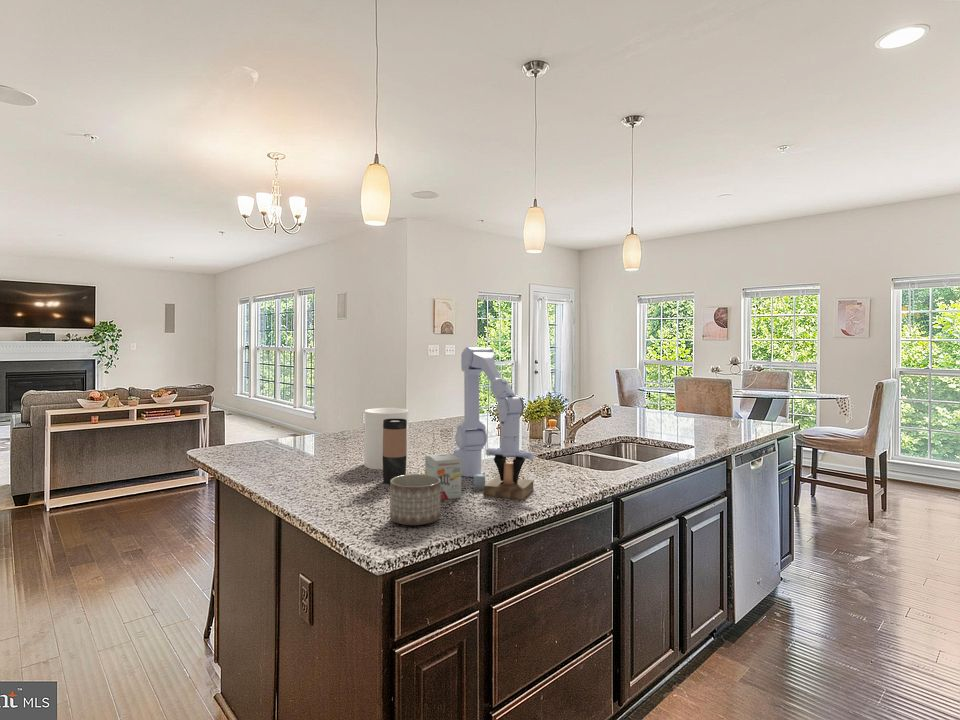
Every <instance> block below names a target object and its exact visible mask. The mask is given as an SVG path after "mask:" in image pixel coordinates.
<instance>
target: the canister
mask: <svg viewBox="0 0 960 720" xmlns="http://www.w3.org/2000/svg"><path fill="white" fill-rule="evenodd" d="M409 417H410V413H409V409H407V408H398V407H379V408H378V407H376V408H368V409H365V410H364V432H363V433H364V436H363V437H364V442H363V443H364V445H363V446H364V453H363V456H364V459H363V463H364V464H363V466H364V467H365V468H367V469H371V470H378V471H379V470H382V471H383V420H385V419H405V420H406V421H407V455H406V467H407V466H408V465H409V428H410V427H409V421H410V419H409Z"/></svg>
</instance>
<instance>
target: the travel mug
mask: <svg viewBox="0 0 960 720" xmlns="http://www.w3.org/2000/svg"><path fill="white" fill-rule="evenodd" d="M406 455H407V421H406V420H405V419H385V420H383V470H382V481H383V484H385V485H386V484H387V485H390V480H391V479H392V478H394V477H397V476H401V475H407V474H406V473H407V466H406Z"/></svg>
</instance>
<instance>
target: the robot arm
mask: <svg viewBox="0 0 960 720" xmlns="http://www.w3.org/2000/svg"><path fill="white" fill-rule="evenodd" d="M495 362H496V354H495V351H494V350H493V348H491V347H489V346H488V347H470V346H467V347H465V348H464V349H463V351H462V352H461V360H460V363H461V364H460V365H461V366H460V367H461V371H462V372H463V373H464V374H463V376H464V379H463V380H464V381H463V382H464V384H463V385H464V387H463V388H464V389H463V390H464V391H463V392H464V395H463V397H464V400H463V401H464V408H463V409H464V410H463V411H464V416H463V417H464V420H462V421H461V422H460V423H459V424H458V425H456V433H455V437H454V438H455V443H456V446H457V447H456V448H454V451H453V453H452V454H453V455H455V456H457V457H459V458H461V459H462V474H461V477H467V478H474V475H476V474H483V475H485V473H486V471H485V470H482V450H483V449H484V447H485V446H486V445H487V442H488V434H487V431H486V428H487V427H486V425H485V424H484V423H483V422H481V420H480V375H481V374H482V373H484V375H486V377H487V379H488V380H489V381H490V383H491V384H490V391H491V392H492V394H493V396H494V398H495V400H496V402H497V405H496V409H497V412H498V413H497V414H498V421H499V422H500V440H499V441H500V444H499V445H500V447H499V448H493V447H492V448H490V447H488V448H485V449H486V450H485V455H486V456H487V457H488V456H494V458H493V462H494V463H495V465H496V468H497V470H498V474H499V477H500V479H501V481H503V469H504V463H505V462H507V461H506V460H507V458H514V459H513V460H512V462H513V466H514V482H517V481H518V479H519V476H520V473H521V470H522V467H523V465H524V463H525V461H526V459H527V460H534V455H535V454H534V452H533V451H528V450H522V449H520V426H521V425H520V424H521V422H520V421H521V420H520V419H521V418H520V417H521V415H523V412H524V409H525V405H524V400H523V399H522V397H521V396H519V395H518V394H516V393H515V392H514V390H513V389H512V388H511V385H509V382H508V380H507V379H505V378H503V377H502V376H501V374H500V371H499V369H498V367H497V365H496V363H495Z"/></svg>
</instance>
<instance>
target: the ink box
mask: <svg viewBox="0 0 960 720" xmlns="http://www.w3.org/2000/svg"><path fill="white" fill-rule="evenodd" d="M424 458H425V459H424V460H425V463H424V466H425V467H424V474H426V475H432V476H436V477H438V478H440V480H441V494H440V501H444V500H452V499H459V498H462V476H461V474H462V459H461V458H459V457H457V456H455V455H453V453H437V454H435V453H434V454H425V457H424Z"/></svg>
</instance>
